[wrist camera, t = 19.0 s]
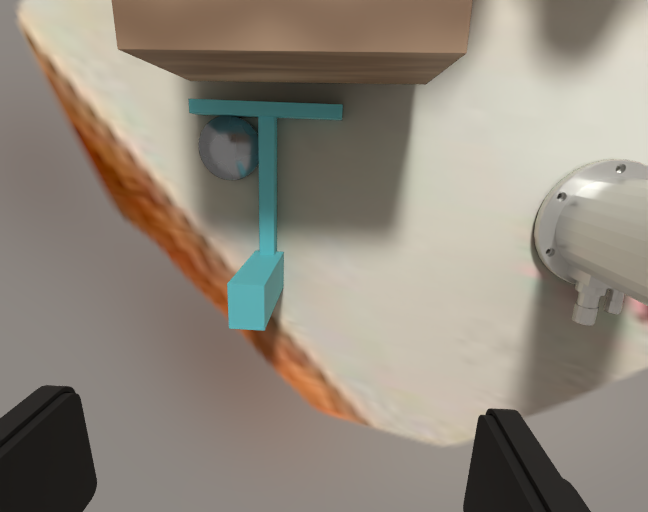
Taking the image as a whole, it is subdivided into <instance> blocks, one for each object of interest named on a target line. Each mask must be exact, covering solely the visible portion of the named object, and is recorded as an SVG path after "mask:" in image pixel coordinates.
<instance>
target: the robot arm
mask: <svg viewBox="0 0 648 512" xmlns="http://www.w3.org/2000/svg"><path fill="white" fill-rule="evenodd" d="M558 194H559V197H558V198H557V196H558ZM534 238H535V246H536V249H537V252H538V255H539V257H540V259H541V260H542V262H543V263H544V265H545V266H546V267H547V268H548V269H549V270H550V271H551V272H552V273H553V274H555V275H556V276H558V277H559V278H561V279H563V280H565V281H567V282H569V283H571V284H575V285H576V287H575V289H576V290H577V291H578V292H579V294H578V298H577V302H575V306H574V310H573V315H572V320H573V321H575V322H577V323H579V324H583V325H590V326H591V325H594V324H595V320H596V317H597V313H598V309H599V307H598V304H599V300H600V297H601V296H605V295H606V293H607V289H609V292H608V296H607V298H606V300H605V304H604V308H603V310H604V311H606V312H608V313H612V314H620V313H621V309H622V306H623V302H624V301H623V299H624V295H625V294H626V295H628V296H630V297H632V298H633V299H635V300H637V301H639V302H641V303H643V304H645V305H647V306H648V166H647V165H645V164H642V163H640V162H636V161H630V160H619V159H611V160H603V161H597V162H594V163H591V164H587V165H585V166H583V167H581V168H579V169H577V170H575V171H573V172H572V173H570V174H569V175H567V176H566V177H564V178H563V179H562V180H561V181H560V182H559V183H558V184H557V185H556V186H555V187H554V188H553V189H552V190H551V191H550V193H549V194H548V195H547V197H546V198H545V200H544V201H543V203H542V205H541V207H540V209H539V212H538V215H537V219H536V222H535V231H534ZM547 250H548V251H547ZM546 251H547V252H546ZM96 487H97V478H96V474H95V469H94V463H93V458H92V453H91V448H90V443H89V438H88V433H87V429H86V423H85V418H84V413H83V408H82V404H81V399H80V396H79V395H78V394H76V393H75V391H74V389H73V388H72V387H68V386H49V385H46V386H42V387H40V388H38V389H37V390H36V391H34V392H33V393H32V394H31V395H29V396H28V397H27V398H26V399H24V400H23V401H22V402H20V403H19V404H18V405H17V406H15V407H14V408H13V409H12V410H10V411H9V412H8V413H7V414H5V415H4V416H3V417H2V418H0V512H83V510H84V509H85V508H86V506H87V505H88V503H89V502H90V501H91V499H92V497H93V496H94V493H95V490H96ZM463 511H464V512H591V511H590V510H589V508H588V507H587V506H586V504H585V503H584V501H583V500H582V498H581V497H580V495H579V494H578V492H577V491H576V490H575V488H574V487H573V486H572V485H571V484H570V483H569V482H568V481H567V480H565V479H563V478H562V477H561V476H560V474H559V472H558V471H557V469H556V468H555V466H554V465H553V463H552V462H551V460H550V459H549V457H548V456H547V454H546V453H545V451H544V450H543V448H542V447H541V445H540V444H539V442H538V441H537V439H536V438H535V436H534V435H533V433H532V432H531V430H530V429H529V427H528V426H527V424H526V423H525V421H524V420H523V418H522V417H521V415H520V414H519V413H518V411H516V410H510V409H488V410H487V412H486V415H480V416H479V418H478V423H477V428H476V434H475V440H474V446H473V452H472V458H471V463H470V469H469V475H468V481H467V487H466V493H465V498H464V505H463Z"/></svg>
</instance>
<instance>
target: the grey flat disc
mask: <svg viewBox="0 0 648 512" xmlns="http://www.w3.org/2000/svg"><path fill="white" fill-rule="evenodd" d="M199 153H200V156H201V159H202V161H203V163H204V165H205V166H206V167H207V169H208V170H209V171H210V172H211V173H213V174H214V175H216V176H217V177H219V178H222V179H226V180H238V179H241V178H244V177H246V176H248V175H250V174H251V173H252V172H253V171H254V170H255V169H256V168H257V166H258V164H259V145H258V134H257V132H256V130H255V129H254V128H253V127H252V126H251V125H250V124H249V123H248V122H246V121H245V120H243V119H241V118H238V117H234V116H220V117H217V118H215V119H213V120H211V121H210V122H209V123H208V124H207V125H206V126H205V127H204V129H203V130H202V132H201V135H200V138H199Z"/></svg>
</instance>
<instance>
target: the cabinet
mask: <svg viewBox="0 0 648 512" xmlns="http://www.w3.org/2000/svg"><path fill="white" fill-rule="evenodd" d="M472 2H473V0H112V6H113V14H114V23H115V31H116V39H117V47H118V49H119V50H121V51H123V52H126V53H128V54H130V55H132V56H135V57H137V58H139V59H142V60H144V61H146V62H148V63H151V64H153V65H155V66H158V67H160V68H162V69H164V70H167V71H169V72H171V73H174V74H176V75H178V76H180V77H183V78H185V79H187V80H190V81H235V82H301V83H367V84H427V83H428V82H430V81H431V80H432V79H433V78H435V77H436V76H437V75H439V74H440V73H441V72H442V71H444V70H445V69H446V68H448V67H449V66H450V65H452V64H453V63H454V62H455V61H457V60H458V59H459V58H461V57H462V56H463V55H465V54H466V52H467V44H468V35H469V27H470V19H471V10H472Z"/></svg>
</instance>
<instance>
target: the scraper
mask: <svg viewBox="0 0 648 512" xmlns="http://www.w3.org/2000/svg"><path fill="white" fill-rule="evenodd" d="M342 111H343V104H316V103H289V102H263V101H236V100H209V99H189V113H192V114H197V115H217V116H243V117H258V145H259V237H260V251H257V250H256V251H255V252H254V253H253V254H252V256H251V257H250V258H249V259H248V260H247V261H246V263H245V264H244V265H243V266H242V267H241V268H240V270H239V271H238V272H237V273H236V274H235V275H234V277H233V278H232V279H231V280H230V281H229V282H228V284H227V287H228V314H229V328H230V329H231V328H232V329H247V330H263V331H265V328H266V326H267V324H268V321H269V319H270V317H271V314H272V312H273V310H274V307H275V305H276V303H277V301H278V298H279V296H280V294H281V291H282V289H283V273H284V252H277V118H294V119H320V120H342Z"/></svg>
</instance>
